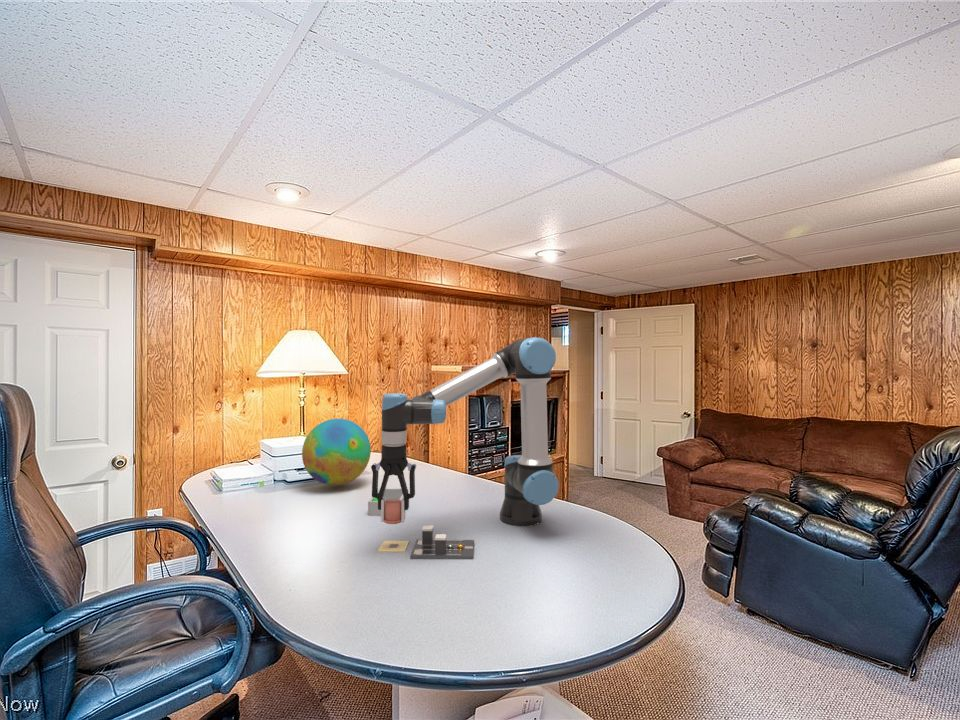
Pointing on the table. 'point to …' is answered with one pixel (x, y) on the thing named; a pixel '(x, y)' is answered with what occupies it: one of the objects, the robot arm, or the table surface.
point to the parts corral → (388, 495)
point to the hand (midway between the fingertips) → (393, 520)
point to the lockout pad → (393, 546)
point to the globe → (336, 452)
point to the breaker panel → (453, 550)
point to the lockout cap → (393, 511)
